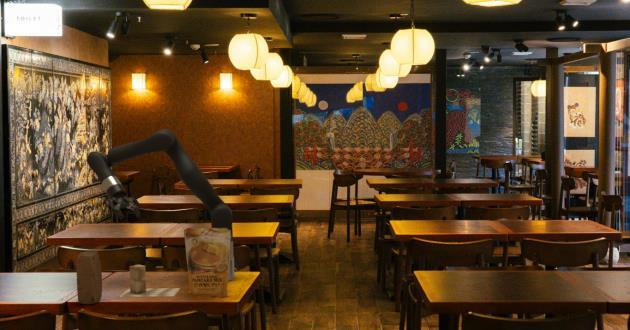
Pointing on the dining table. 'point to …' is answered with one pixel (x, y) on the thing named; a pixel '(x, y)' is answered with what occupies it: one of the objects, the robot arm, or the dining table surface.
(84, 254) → the block
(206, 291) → the pancake mix bag
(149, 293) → the birch board
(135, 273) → the tan tall block
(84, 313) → the dining table surface
